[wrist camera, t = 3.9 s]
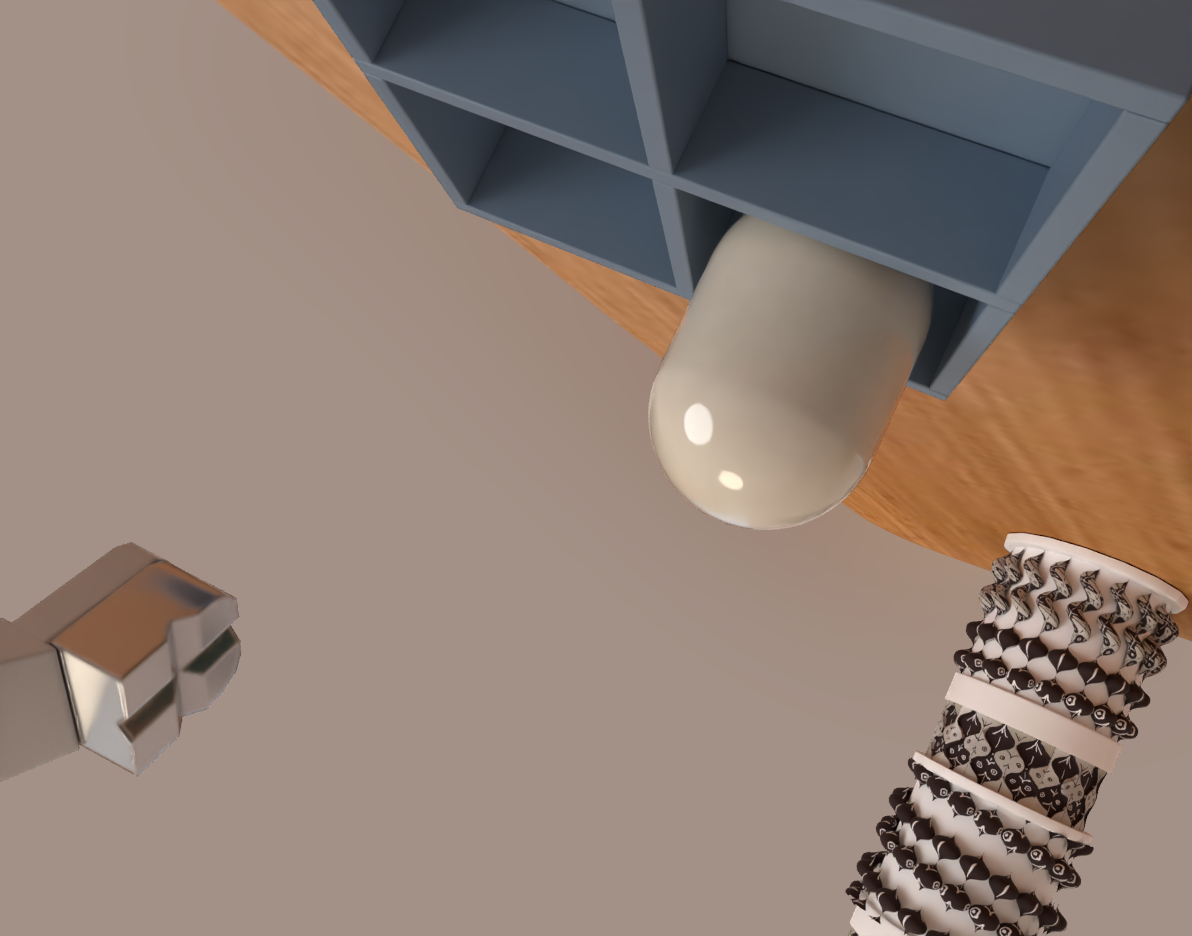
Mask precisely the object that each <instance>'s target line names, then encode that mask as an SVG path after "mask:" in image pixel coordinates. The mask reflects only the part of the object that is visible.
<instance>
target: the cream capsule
mask: <svg viewBox="0 0 1192 936" xmlns="http://www.w3.org/2000/svg"><path fill="white" fill-rule="evenodd" d="M933 306H934V292H933V283H930V282H928V281H925V280H922V279H920V278H917V277H914V276H912V275H909V274H906V273H903V272H901V271H898V270H895V269H893V268H890V267H887V266H885V265H882V264H879V263H876V262H874V261H871V260H868V259H866V258H863V257H860V256H858V255H855V254H852V253H850V252H847V251H844V250H841V249H839V248H836V247H833V246H831V245H828V244H825V243H823V242H820V241H817V240H814V239H812V238H809V237H806V236H804V235H801V234H798V233H796V232H793V231H790V230H788V229H785V228H782V227H779V226H777V225H774V224H771V223H769V222H766V221H763V220H761V219H758V218H755V217H752V216H750V215H747V214H743V215H742V216H740V217H739V218H738V219H737V221H736V222H735V223H734V224H733V225H732V226H731V227H730V228H729V229H728V230H727V231H726V233H725V234H724V235H723V237H722V238H721V239H720V241H719V242H718V244H717V245H716V247H715V249H714V251H713V253H712V254H711V257H710V259H709V261H708V263H707V265H706V267H705V269H704V271H703V274H702V276H701V278H700V280H699V282H698V284H697V286H696V289H695V291H694V293H693V295H692V297H691V299H690V301H689V304H688V306H687V308H686V310H685V312H684V314H683V316H682V319H681V321H680V323H679V325H678V327H677V329H676V331H675V333H674V336H673V338H672V340H671V342H670V344H669V346H668V348H667V351H666V353H665V355H664V357H663V359H662V361H661V364H660V366H659V368H658V371H657V373H656V376H655V378H654V382H653V385H652V390H651V394H650V400H649V410H648V418H649V431H650V437H651V442H652V445H653V449H654V452H655V455H656V458H657V460H658V462H659V464H660V466H661V469H662V470H663V472H664V473H665V475H666V477H667V478H668V480H669V482H670V483H671V484H672V485H673V486H674V488H675V489H676V490H677V491H678V493H679V494H680V495H681V496H682V497H684V498H685V499H686V500H687V501H688V502H689V503H690V504H691V505H693V506H694V507H696V508H697V509H699V510H700V511H701V512H703V513H704V514H706V515H708V516H710V517H712V518H714V519H716V520H718V521H721V522H723V523H726V524H729V525H733V526H736V527H740V528H747V529H755V530H776V529H782V528H789V527H793V526H796V525H800V524H803V523H806V522H809V521H811V520H813V519H815V518H818V517H820V516H821V515H823V514H825V513H826V512H828V511H830V510H831V509H833V508H834V507H835V506H836V505H838V504H839V503H840V502H842V501H843V500H844V499H845V498H846V497H847V496H848V495H849V494H850V493H851V492H852V491H853V490H854V489H855V488H856V487H857V485H858V484H859V483H860V481H861V480H862V478H863V477H864V476H865V474H866V473H867V471H868V469H869V467H870V465H871V463H872V461H873V459H874V457H875V455H876V452H877V450H878V448H879V446H880V443H881V441H882V439H883V437H884V434H885V432H886V430H887V428H888V425H889V423H890V421H891V419H892V416H893V414H894V412H895V410H896V407H897V405H898V403H899V401H900V398H901V396H902V394H903V391H904V389H905V387H906V385H907V382H908V380H909V378H910V376H911V373H912V371H913V369H914V367H915V364H916V362H917V360H918V358H919V355H920V353H921V351H922V348H923V346H924V344H925V341H926V338H927V335H928V333H929V329H930V325H931V320H932V315H933Z"/></svg>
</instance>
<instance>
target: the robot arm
mask: <svg viewBox="0 0 1192 936" xmlns="http://www.w3.org/2000/svg"><path fill="white" fill-rule="evenodd" d="M238 617H239V613H238V604H237V598H235V597H234V596H231V595H230V594H228V593H226V592H224V591H222V590H220V589H218V588H216V587H215V586H213V585H211V584H209V583H207V582H205V581H203V580H201V579H200V578H198V577H196V576H194V575H192V574H190V573H188V572H186V571H184V570H183V569H181V568H178V567H176V566H175V565H173V564H171V563H170V562H169V561H167V560H165V559H163V558H161V557H159V556H157V555H156V554H154V553H152V552H150V551H148V550H146V549H144V548H142V547H140V546H138V545H136V544H134V543H132V542H131V543H127V544H124V545H121V546H118V547H116V548H113V549H112V550H111V551H109V552H108V553H107V554H105V555H104V556H102V557H101V558H100V559H98V560H97V561H96V562H94V563H93V564H92V565H90V566H89V567H87V568H86V569H85V570H83V571H82V572H81V573H79V574H78V575H76V576H75V577H74V578H72V579H71V580H70V581H68V582H67V583H66V584H65V585H63V586H62V587H60V588H59V589H57V590H56V591H55V592H53V593H52V594H51V595H49V596H48V597H46V598H45V599H44V600H42V601H41V602H40V603H38V604H37V605H35V606H34V607H33V608H31V609H30V610H29V611H27V612H26V613H25V614H23V615H22V616H21V617H19V618H18V619H16V620H15V621H14V622H12V623H11V622H9V621H7V620H5V619H3V618H0V782H2V781H4V780H6V779H9V778H11V777H14V776H16V775H19V774H21V773H24V772H26V771H28V770H31V769H33V768H36V767H38V766H41V765H43V764H45V763H48V762H50V761H53V760H55V759H57V758H60V757H63V756H65V755H67V754H70V753H72V752H75V751H77V750H79V748H80V747H79V745H81V746H83V747H85V748H86V749H88V750H90V751H92V752H94V753H95V754H97V755H99V756H101V757H103V758H105V759H106V760H108V761H110V762H112V763H114V764H116V765H118V766H119V767H121V768H123V769H125V770H126V771H128V772H130V773H132V774H134V775H136V776H139V775H140V774H141V773H142V772H143V771H144V770H145V769H146V768H147V767H148V766H149V765H150V764H151V763H152V762H153V761H154V760H155V759H156V758H157V757H158V756H159V755H160V754H161V753H162V752H163V751H164V750H165V749H167V748H168V747H169V746H170V745H171V744H172V743H173V742H174V741H175V740H176V739H177V738H178V737H179V734H180V728H181V722H182V717H184V716H187V715H190V714H193V713H196V712H200V711H203V710H206V709H207V708H208V707H209V706H210V705H211V704H212V703H213V702H214V701H215V700H216V699H217V698H218V697H219V696H220V695H221V694H222V693H223V692H224V690H225V688H226V687H227V685H228V683H229V682H230V680H231V679H232V677H233V675H234V674H235V672H236V670H237V667H238V663H239V659H240V656H241V645H240V640H239V638H238V637H237V635H236V633H235V632H234V630H233V628H232V627H231V624H232V623H233V622H234V621H235V620H236V619H237V618H238Z"/></svg>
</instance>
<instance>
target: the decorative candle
mask: <svg viewBox="0 0 1192 936" xmlns="http://www.w3.org/2000/svg"><path fill="white" fill-rule="evenodd" d="M1004 548H1006V549H1007V550H1008V551H1009V552H1010V554H1008V555H1006V556H1004V557H1001V558H998V559H996V560H994V562H993V564H992V568H991V573H992V576H993V578H994V580H995V582H996V583H994V584H991V585H988V586H985V587H984V588H982V589H981V591H980V596H979V602H980V604H981V606H982V608H983V611H984V615H986V614H987V617H986V619H985V622H983V621H984V620H982V621H977V622H970V623H968V624H967V627H966V633H967V635H968V636H969V638H970V639H971V640H972V642H973V645H974V643H975V645H974V648H973V650H972V648H970V649H965V650H958V651H956V652H955V654H954V662H955V664H956V665H957V666H958V667H959V669H960V671H961V673H957V672H956V673H955V675H954V678H953V680H952V683H951V685H950V687H949V690H948V692H947V695H946V697H945V699H946V700H948V702H947V704H946V706H945V709H944V711H943V713H942V716H941V718H940V720H939V723H938V725H937V727H936V730H935V732H934V734H933V737H932V740H931V742H930V744H929V746H928V749H927V751H926V753H922V752H920V751H916V752H915V754H914V757H913V759H912V758H911V759H909V760H908V766H909V767H910V769H911V770H912V771H913V773H914V775H915V779H916V778H917V782H916V784H915V787H914V788H909V787H907V788H896V789H894V791H893V793H892V794H891V795H890V797H889V803H890V805H891V806H892V808H893V809H894V810H895V813H896V815H894V816H885V817H883V818H882V820H881V822H879V823H878V824H877V826H876V831H877V833H878V835H879V836H880V841H881V843H882V845H883V846H884V848H885V849H886V851H882V852H875V853H873V852H872V853H871V852H867V853H864V854H863V855H862V858H861V860H860V861H859V862H858V863H857V870H858V872H859V874H860V875H861V876H862V881H854V882H852V883H851V885H850V887H849V888H847V889H846V893H847V895H849V894H850V895H852V896H853V897H854V898H856V899H852V902H853V903H854V904H857V906H856V909H855V911H854V913H853V916H852V918H851V921H850V924H851V926H852V928H851V930H850V932H849V935H848V936H1037V935H1038V933H1039V930H1040V928H1041V927H1044V932H1045V931H1047V934H1048V933H1050V932H1061V931H1064V930H1065V929H1066V928H1067V922H1066V920H1065V918H1064V917H1063V916H1062V915H1061V913H1060V912H1059V910H1058V906H1057V909H1056V910H1055V909H1054V906H1052V904H1051V901H1052V898H1053V896H1054V893H1055V891H1056V889H1057V886H1058V889H1057V892H1058V890H1059V891H1060V890H1061V889H1063V888H1077V887H1078V886H1079V885H1080V884H1081V879H1080V876H1079V874H1078V873H1077V872H1076V870H1075V869H1074V868H1073V866H1072V863H1071V864H1070V865H1068V863H1067V861H1068V859H1070V858H1071V857H1073V858H1074V857H1077V856H1086V855H1090V854H1091V853H1092V852H1093V847H1090V846H1089V845H1090V844H1091V842H1092V839H1093V837H1092V836H1091V835H1090V834H1088V833H1087V832H1085V831H1084V828H1085V823H1086V819H1087V816H1088V814H1089V812H1090V810H1091V809H1092V807H1093V805H1094V804H1095V801H1096V798H1097V794H1098V789H1099V787H1100V784H1101V783H1102V781H1103V779H1104V778H1105V776H1106V774H1107V773H1109V774H1111V773H1112V771H1113V769H1114V766H1115V764H1116V761H1117V759H1118V756H1119V754H1120V752H1121V749H1122V745H1120V744H1119V743H1118V741H1119V740H1123V739H1133V738H1135V737H1136V736H1137V734H1138V729H1137V727H1136V726H1135V724H1134V723H1133V722H1132V721H1131V720H1130V718H1129V715H1128V716H1127V714H1128V711H1129V709H1130V710H1132V709H1135V708H1142V707H1146V706H1148V705H1149V704H1150V698H1149V696H1148V695H1147V694H1146V693H1145V692H1144V691H1143V690H1142V688H1141V686H1139V684H1140V683H1141V679H1142V677H1143V680H1144V679H1145V678H1147V677H1149V676H1152V675H1155V674H1158V673H1160V672H1161V671H1163V670H1164V669H1165V667H1166V664H1167V659H1166V657H1165V655H1164V653H1163V651H1162V650H1161V647H1160V646H1162V645H1165V644H1168V643H1170V642H1172V641H1174V640H1175V639H1176V638H1177V637H1178V635H1179V628H1178V626H1177V624H1176V623H1175V621H1174V619H1173V617H1172V615H1171V613H1173V614H1177V613H1179V612H1181V611H1183V610H1184V609H1186V607H1187V605H1188V602H1189V601H1188V600H1187V599H1186V598H1185V597H1184V595H1183V594H1182V593H1181V592H1180V591H1178V590H1177V589H1175V588H1173V587H1172V586H1170V585H1168V584H1167V583H1165V582H1163V581H1162V580H1160V579H1158V578H1156V577H1154V576H1152V575H1150V574H1148V573H1146V572H1143V571H1141V570H1139V569H1137V568H1135V567H1133V566H1130V565H1128V564H1126V563H1124V562H1121V561H1118V560H1116V559H1113V558H1110V557H1108V556H1105V555H1102V554H1100V553H1097V552H1094V551H1092V550H1089V549H1086V548H1083V547H1079V546H1076V545H1073V544H1069V543H1066V542H1062V541H1059V540H1055V539H1052V538H1048V537H1042V536H1037V535H1032V534H1026V533H1011V534H1008V535H1007V538H1006V541H1005V545H1004ZM1011 555H1012V556H1011ZM1168 613H1169V614H1168ZM984 618H985V616H984ZM962 672H963V673H962ZM1143 680H1142V682H1143ZM1126 716H1127V717H1126ZM1117 739H1118V740H1117ZM1116 741H1117V742H1116ZM907 802H908V803H907ZM877 866H879V867H880V869H879V872H873V870H874V869H875V868H876V867H877ZM860 892H862V895H861V897H860V899H859V894H860ZM1044 932H1043V933H1044Z"/></svg>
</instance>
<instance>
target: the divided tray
mask: <svg viewBox="0 0 1192 936" xmlns="http://www.w3.org/2000/svg"><path fill="white" fill-rule="evenodd" d="M312 1H313V2H314V3H315V5H316V6H317V8H318V9H319V11H320V12H321V13H322V15H323V16H324V18H325V19H326V21H327V22H328V24H329V25H330V26H331V28H332V29H333V31H334V32H335V34H336V35H337V36H338V38H339V39H340V41H341V42H342V44H343V45H344V46H345V48H346V49H347V51H348V52H349V54H350V55H351V56H352V57H353V58H354V61H355V62H356V64H357V65H358V66H359V68H360V69H361V71H362V72H364V75H365V76H366V78H367V79H368V81H369V82H370V84H371V85H372V86H373V88H374V89H375V91H376V92H377V94H378V95H379V97H380V98H381V99H382V101H383V102H384V104H385V105H386V107H387V108H388V109H389V111H390V112H391V114H392V115H393V117H394V118H395V119H396V121H397V122H398V124H399V125H400V127H401V128H402V129H403V131H404V132H405V134H406V135H407V137H408V138H409V139H410V141H411V142H412V144H413V145H414V147H415V148H416V149H417V151H418V152H419V154H420V155H421V157H422V158H423V159H424V161H425V162H426V164H427V165H428V167H429V168H430V170H431V171H432V172H433V174H434V175H435V177H436V178H437V180H438V181H439V182H440V184H441V185H442V187H443V188H444V190H445V191H446V192H447V194H448V195H449V197H450V198H451V199H452V200H453V202H454V204H455V205H456V207H457V208H459V209H461V210H464V211H466V212H469V213H471V214H474V215H476V216H479V217H482V218H484V219H486V220H489V221H491V222H494V223H496V224H499V225H501V226H504V227H506V228H509V229H512V230H514V231H517V232H519V233H522V234H524V235H527V236H529V237H532V238H534V239H537V240H539V241H542V242H544V243H547V244H549V245H552V246H554V247H557V248H559V249H562V250H564V251H567V252H570V253H572V254H575V255H577V256H580V257H582V258H585V259H587V260H590V261H592V262H595V263H597V264H600V265H602V266H605V267H607V268H610V269H612V270H615V271H617V272H620V273H623V274H625V275H628V276H630V277H633V278H635V279H638V280H640V281H643V282H645V283H648V284H650V285H653V286H655V287H658V288H660V289H663V290H665V291H668V292H670V293H673V294H675V295H678V296H681V297H683V298H686V299H688V300H690V299H691V297H692V295H693V293H694V291H695V289H696V286H697V284H698V282H699V280H700V278H701V276H702V274H703V271H704V269H705V267H706V265H707V263H708V261H709V259H710V257H711V254H712V253H713V251H714V249H715V247H716V245H717V244H718V242H719V241H720V239H721V238H722V237H723V235H724V234H725V233H726V231H727V230H728V229H729V228H730V227H731V226H732V225H733V224H734V223H735V222H736V221H737V219H738V218H739V217H740V216H742V215H743V214H747V215H750V216H752V217H755V218H758V219H761V220H763V221H766V222H769V223H771V224H774V225H777V226H779V227H782V228H785V229H788V230H790V231H793V232H796V233H798V234H801V235H804V236H806V237H809V238H812V239H814V240H817V241H820V242H823V243H825V244H828V245H831V246H833V247H836V248H839V249H841V250H844V251H847V252H850V253H852V254H855V255H858V256H860V257H863V258H866V259H868V260H871V261H874V262H876V263H879V264H882V265H885V266H887V267H890V268H893V269H895V270H898V271H901V272H903V273H906V274H909V275H912V276H914V277H917V278H920V279H922V280H925V281H928V282H930V283H933V292H934V306H933V315H932V320H931V325H930V329H929V333H928V335H927V338H926V341H925V344H924V346H923V348H922V351H921V353H920V355H919V358H918V360H917V362H916V364H915V367H914V369H913V371H912V373H911V376H910V378H909V380H908V382H907V385H906V386H908V387H910V388H913V389H915V390H918V391H920V392H923V393H925V394H928V395H930V396H933V397H935V398H938V399H940V400H944V401H945V400H946V399H947V398H948V397H949V395H950V394H951V393H952V392H953V390H954V389H955V388H956V387H957V385H958V384H959V383H960V382H961V380H962V379H963V378H964V377H965V375H966V374H967V373H968V372H969V371H970V369H971V368H972V367H973V366H974V364H975V363H976V362H977V361H978V359H979V358H980V357H981V356H982V354H983V353H984V352H985V351H986V350H987V348H988V347H989V346H990V345H991V343H992V342H993V341H994V340H995V338H996V337H997V336H998V335H999V333H1000V332H1001V331H1002V330H1003V329H1004V327H1005V326H1006V325H1007V324H1008V322H1009V321H1010V320H1011V319H1012V317H1013V316H1014V315H1015V314H1016V312H1017V311H1018V310H1019V309H1020V308H1021V306H1022V305H1023V304H1024V303H1025V302H1026V300H1027V299H1028V298H1029V297H1030V295H1031V294H1032V293H1033V292H1034V290H1035V289H1036V288H1037V287H1038V286H1039V284H1040V283H1041V282H1042V281H1043V279H1044V278H1045V277H1046V276H1047V274H1048V273H1049V272H1050V271H1051V269H1052V268H1053V267H1054V266H1055V265H1056V263H1057V262H1058V261H1059V260H1060V258H1061V257H1062V256H1063V255H1064V253H1065V252H1066V251H1067V250H1068V249H1069V247H1070V246H1071V245H1072V244H1073V242H1074V241H1075V240H1076V239H1077V237H1078V236H1079V235H1080V234H1081V232H1082V231H1083V230H1084V229H1085V228H1086V226H1087V225H1088V224H1089V223H1090V221H1091V220H1092V219H1093V218H1094V216H1095V215H1096V214H1097V213H1098V211H1099V210H1100V209H1101V208H1102V207H1103V205H1104V204H1105V203H1106V202H1107V200H1108V199H1109V198H1110V197H1111V195H1112V194H1113V193H1114V192H1115V190H1116V189H1117V188H1118V187H1119V186H1120V184H1121V183H1122V182H1123V181H1124V179H1125V178H1126V177H1127V176H1128V174H1129V173H1130V172H1131V171H1132V169H1133V168H1134V167H1135V166H1136V165H1137V163H1138V162H1139V161H1140V160H1141V158H1142V157H1143V156H1144V155H1145V153H1146V152H1147V151H1148V150H1149V148H1150V147H1151V146H1152V145H1153V144H1154V142H1155V141H1156V140H1157V139H1158V137H1159V136H1160V135H1161V134H1162V132H1163V131H1164V130H1165V129H1166V128H1167V126H1168V125H1169V123H1170V121H1172V120H1173V119H1174V117H1175V116H1176V115H1177V114H1178V112H1179V111H1180V110H1181V109H1182V108H1183V106H1184V105H1185V104H1186V103H1187V101H1188V100H1189V98H1190V96H1191V93H1192V0H312Z"/></svg>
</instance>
